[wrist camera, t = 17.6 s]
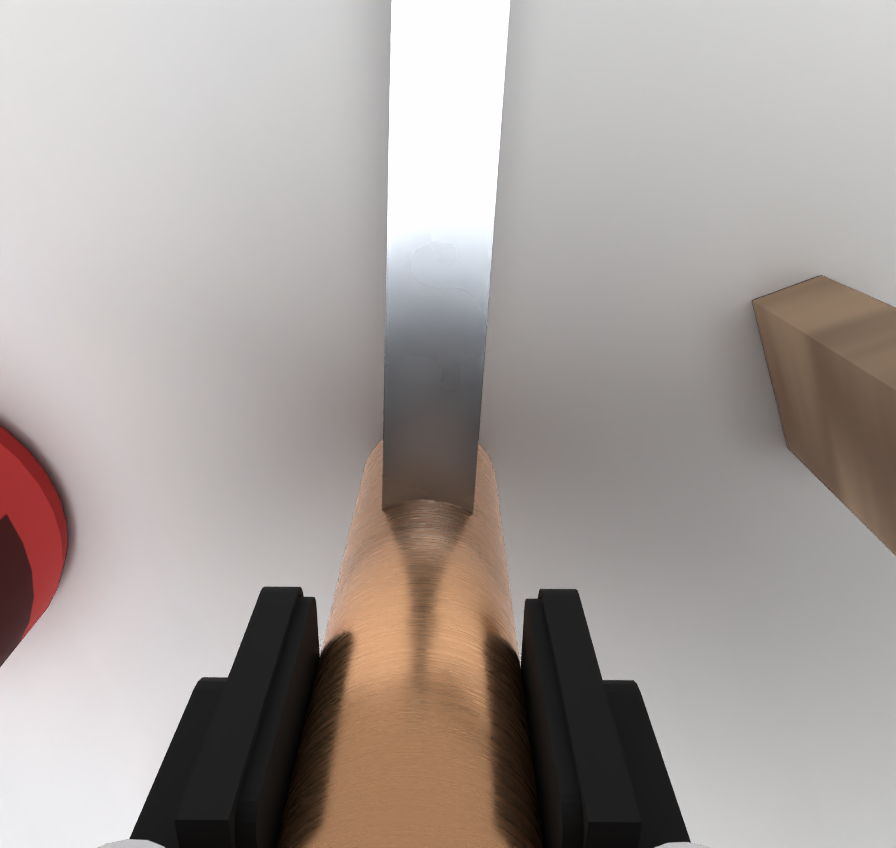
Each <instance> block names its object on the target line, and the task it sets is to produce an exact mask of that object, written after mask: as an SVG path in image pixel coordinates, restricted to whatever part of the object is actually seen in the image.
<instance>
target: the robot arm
mask: <svg viewBox="0 0 896 848" xmlns="http://www.w3.org/2000/svg"><path fill="white" fill-rule="evenodd" d="M319 659H320V655H319V639H318V624H317V608H316V600H315V597H303V591H302V588H301V587H263V588H262V590H261V592H260V595H259V597H258V600H257V603H256V605H255V608H254V610H253V613H252V616H251V618H250V621H249V624H248V626H247V629H246V632H245V634H244V637H243V639H242V642H241V645H240V647H239V650H238V653H237V655H236V658H235V661H234V663H233V666H232V669H231V671H230V674H229V676H228V678H216V677H203V678H201V679H200V680H199V681H198V683H197V684H196V686H195V688H194V690H193V692H192V695H191V697H190V699H189V702H188V704H187V706H186V709H185V711H184V713H183V716H182V718H181V720H180V723H179V725H178V727H177V730H176V732H175V734H174V737H173V739H172V741H171V743H170V746H169V748H168V750H167V753H166V755H165V757H164V760H163V762H162V764H161V767H160V769H159V771H158V774H157V776H156V778H155V781H154V783H153V785H152V788H151V790H150V792H149V795H148V797H147V799H146V802H145V804H144V806H143V809H142V811H141V813H140V816H139V818H138V820H137V823H136V825H135V827H134V830H133V832H132V834H131V837H130V839H127V840H122V841H117V842H112V843H108V844H105V845H103V846H101V847H98V848H275V847H276V842H277V838H278V834H279V830H280V825H281V821H282V817H283V812H284V808H285V804H286V800H287V795H288V791H289V787H290V783H291V778H292V774H293V770H294V766H295V761H296V757H297V753H298V749H299V744H300V740H301V736H302V731H303V727H304V723H305V719H306V714H307V710H308V706H309V702H310V697H311V693H312V689H313V685H314V680H315V676H316V672H317V667H318V663H319ZM521 676H522V684H523V691H524V699H525V707H526V715H527V722H528V730H529V738H530V745H531V753H532V761H533V768H534V776H535V784H536V791H537V799H538V807H539V815H540V822H541V830H542V838H543V845H544V848H709V847H707V846H702V845H698V844H694V843H691V841H690V838H689V836H688V833H687V830H686V827H685V824H684V821H683V818H682V815H681V812H680V809H679V806H678V803H677V800H676V797H675V794H674V791H673V788H672V785H671V782H670V779H669V776H668V773H667V770H666V767H665V764H664V761H663V758H662V755H661V752H660V749H659V746H658V743H657V740H656V737H655V734H654V731H653V728H652V725H651V722H650V719H649V716H648V713H647V710H646V707H645V704H644V701H643V698H642V695H641V692H640V690H639V688H638V686H637V684H636V683H635V682H634V681H633V680H602V676H601V673H600V669H599V666H598V662H597V658H596V655H595V651H594V647H593V644H592V640H591V637H590V633H589V629H588V626H587V622H586V618H585V615H584V611H583V608H582V604H581V600H580V597H579V594H578V591H577V590H576V589H540V590H539V594H538V599H526V600H525V609H524V624H523V640H522V656H521Z"/></svg>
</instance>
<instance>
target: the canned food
mask: <svg viewBox="0 0 896 848" xmlns="http://www.w3.org/2000/svg"><path fill="white" fill-rule="evenodd" d="M67 546H68V539H67V521H66V518H65V514H64V511H63V508H62V504H61V501H60V497H59V495H58V494H57V492H56V490H55V488H54V486H53V484H52V482H51V480H50V479H49V477H48V475H47V473H46V472H45V471H44V469H43V468H42V467H41V465H40V464H39V463H38V462H37V460H36V459H35V458H34V457H33V455H32V454H31V453H30V452H29V450H28V449H26V448H25V447H24V446H23V445H22V444H21V443H20V442H19V441H18V440H17V439H15V438H14V437H13V436H12V435H11V434H10V433H9V432H8V431H7V430H5V429H4V428H2V427H1V426H0V667H1V665H2V664H3V663H4V662H5V660H6V659H7V658H8V657H9V655H10V654H11V653H12V652H13V650H14V649H15V648H16V647H17V645H18V644H19V643H20V642H21V640H22V639H23V638H24V637H25V635H26V634H27V633H28V632H29V630H30V629H31V628H32V627H33V625H34V624H35V623H36V622H37V620H38V619H39V618H40V617H41V615H42V614H43V613H44V612H45V610H46V609H47V608H48V606H49V604H50V602H51V600H52V598H53V596H54V594H55V592H56V590H57V588H58V585H59V581H60V578H61V574H62V570H63V566H64V561H65V556H66V551H67Z"/></svg>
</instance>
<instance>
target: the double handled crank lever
mask: <svg viewBox="0 0 896 848" xmlns="http://www.w3.org/2000/svg"><path fill="white" fill-rule="evenodd" d="M509 8H510V0H392V7H391V59H390V111H389V163H388V215H387V267H386V319H385V371H384V423H383V440H382V441H381V442H380V443H379V444H378V445H377V446H376V447H375V448H374V449H373V451H372V452H371V454H370V456H369V457H368V459H367V462H366V464H365V467H364V471H363V476H362V480H361V484H360V488H359V493H358V497H357V501H356V505H355V510H354V514H353V518H352V523H351V527H350V531H349V535H348V540H347V544H346V548H345V552H344V557H343V561H342V565H341V569H340V574H339V578H338V582H337V586H336V591H335V595H334V599H333V604H332V608H331V612H330V616H329V621H328V625H327V629H326V633H325V638H324V642H323V646H322V650H321V655H320V659H319V663H318V667H317V672H316V676H315V680H314V685H313V689H312V693H311V697H310V702H309V706H308V710H307V714H306V719H305V723H304V727H303V731H302V736H301V740H300V744H299V749H298V753H297V757H296V761H295V766H294V770H293V774H292V778H291V783H290V787H289V791H288V795H287V800H286V804H285V808H284V812H283V817H282V821H281V825H280V830H279V834H278V838H277V842H276V847H275V848H544V845H543V838H542V830H541V822H540V815H539V807H538V799H537V791H536V784H535V776H534V768H533V761H532V753H531V745H530V738H529V730H528V722H527V715H526V707H525V699H524V691H523V684H522V676H521V668H520V661H519V653H518V645H517V638H516V630H515V622H514V615H513V607H512V599H511V591H510V584H509V576H508V568H507V561H506V553H505V545H504V538H503V530H502V522H501V515H500V507H499V499H498V491H497V484H496V476H495V471H494V467H493V464H492V462H491V460H490V458H489V456H488V454H487V453H486V451H485V450H484V449H483V447H482V446H481V445H480V444H479V443H478V440H479V426H480V412H481V398H482V384H483V370H484V356H485V342H486V328H487V314H488V300H489V286H490V273H491V259H492V245H493V231H494V217H495V203H496V189H497V175H498V161H499V147H500V133H501V119H502V105H503V92H504V78H505V64H506V50H507V36H508V22H509Z"/></svg>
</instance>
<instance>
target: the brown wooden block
mask: <svg viewBox="0 0 896 848" xmlns="http://www.w3.org/2000/svg"><path fill="white" fill-rule="evenodd" d="M752 302H753V307H754V311H755V315H756V319H757V323H758V327H759V331H760V336H761V340H762V344H763V348H764V352H765V356H766V360H767V365H768V369H769V373H770V377H771V381H772V385H773V389H774V394H775V398H776V402H777V406H778V410H779V414H780V419H781V423H782V427H783V431H784V435H785V439H786V443H787V448H788V449H789V450H790V451H791V452H792V453H793V454H794V455H795V456H796V457H797V458H798V459H799V460H800V461H801V462H802V463H803V464H804V465H805V466H806V467H807V468H808V469H809V470H810V471H811V472H812V473H813V474H814V475H815V476H816V477H817V478H818V479H819V480H820V481H821V482H822V483H823V484H824V485H825V486H826V487H827V488H828V489H829V490H830V491H831V492H832V493H833V494H834V495H835V496H836V497H837V498H838V499H839V500H840V501H841V502H842V503H843V504H844V505H845V506H846V507H847V508H848V509H849V510H850V511H851V512H852V513H853V514H854V515H855V516H856V517H857V518H858V519H859V520H860V521H861V522H862V523H863V524H864V525H865V526H866V527H867V528H868V529H869V530H870V531H871V532H872V533H873V534H874V535H875V536H876V537H877V538H878V539H879V540H880V541H881V542H882V543H883V544H884V545H885V546H886V547H887V548H889V549H890V550H891V551H892V552H893V553H894V554H895V555H896V308H895V307H893V306H891V305H888V304H886V303H884V302H881V301H879V300H877V299H875V298H872V297H870V296H868V295H866V294H863V293H861V292H859V291H856V290H854V289H852V288H850V287H847V286H845V285H843V284H841V283H838V282H836V281H834V280H831V279H829V278H827V277H825V276H822V275H821V276H818V277H815V278H813V279H810V280H807V281H804V282H802V283H799V284H796V285H793V286H791V287H788V288H785V289H782V290H780V291H777V292H774V293H772V294H769V295H766V296H763V297H761V298H758V299H755V300H752Z"/></svg>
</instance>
